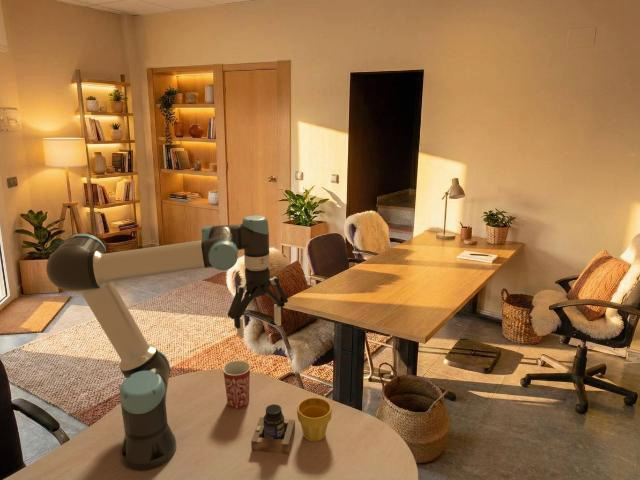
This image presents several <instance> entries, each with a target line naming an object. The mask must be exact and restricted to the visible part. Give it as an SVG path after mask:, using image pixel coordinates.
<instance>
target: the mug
mask: <svg viewBox="0 0 640 480" xmlns="http://www.w3.org/2000/svg"><path fill="white" fill-rule="evenodd" d="M251 369H252V368H251V364H250V363H249V362H248V361H245V360H232V361H229V362H227V363H225V364H224V365H223V367H222V372H223V380H224V386H225V393H226V394H225V395H226V403H227V405H228V406H229V408H232V409H235V410H239V409H243V408H245V407H247V406H248V405H249V403H250V377H251V371H250V370H251Z"/></svg>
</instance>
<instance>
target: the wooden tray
mask: <svg viewBox="0 0 640 480" xmlns="http://www.w3.org/2000/svg"><path fill="white" fill-rule="evenodd" d="M257 421H258V422H257V424H256V427H255V429H254V432H253V436H252V438H251V441H250V446H251V447H250V448H251V452H258V453H269V454H280V455H281V454H282V455H289V454H290V450H291V447H292V443H293V438H294V434H295V432H296V420H295V419H287V418H284V435H285V437H284V440H281V439H270V438H264V416H263V417H262V416H260V417H259V419H258V420H257Z"/></svg>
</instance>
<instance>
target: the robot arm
mask: <svg viewBox="0 0 640 480" xmlns="http://www.w3.org/2000/svg"><path fill="white" fill-rule="evenodd" d="M269 229H270V228H269V220H268V218H267V217H265V216H263V215H248V216H245V217H243V218H242V222H241V223H239V224H224V225H223V224H221V225H215V224H213V225H207V226H203V227H202V228H201V240H196V241H195V240H194V241H188V242H187V241H186V242H179V243H173V244H166V245H165V244H164V245H158V246H151V247H144V248H143V247H142V248H136V249H128V250H122V251H115V252H108V253H107V250H106V249H107V248H106V246H105V244H104V243H103V242H102V240H101V239H99V238H98V237H97V236H95V235H92V234H88V233H77V234H73V235H72V236H70V237H68V238H67V239H64V241H62V242H61V244H60V245H59V246H58V248H57V249H55V251H53V253H51V255H50V256H49V257H48V260H47V262H46V268H45V271H46V275H47V277H48V280H49V281H50V283H52V285H54V286H55V287H57V288H58V289H60V290H64V291H66V292H67V291H68V292H74V293H77V294H80V295H82V296H83V299H84V300H85V302H86V304H87V306H88V307H89V309H90V311H91V312H92V314H93V316H94V317H95V318H96V320H97V322H98V324H99V325H100V327H101V329H102V330H103V332H104V333H105V336H106V337H107V338H108V340H109V342H110V344H111V345H112V347H113V348H114V350H115V352H116V354H117V355H118V357H119V359H120V362H119V365H118V368H119V370H120V371H121V372H122V375H123V376H124V378H125V379H124V380H123V382H121V384H120V387H119V396H118V397H119V399H118V400H119V402H120V403H119V404H120V407H121V408H120V409H121V413H122V414H121V415H122V422H123V429H124V435H123V436H124V437H123V440H122V444H121V448H120V456H121V457H120V458H121V462H122V464H123V465H124V466H125V467H126V468H128V469H129V470H132V471H133V470H135V471H147V470H152V469H155V468H158V467H160V466H162V465H164V464H165V463H167V462H168V461H169V460H170V459H172V457H173V456H174V454H175V453H176V450H177V441H176V440H177V439H176V436H175V434H174V433H173V431H172V429H171V427H170V426H169V423H168V415H167V406H166V405H167V403H166V401H167V393H168V386H169V381H170V380H169V379H170V376H171V367H170V362H169V359H168V357H167V356H166V355H165V353H163V352H161V351H160V350H158V348H157V347H156V345H154V344H148V342H147V340H146V339H145V336H144V335H143V332H142V331H141V329H140V328H139V326H138V324H137V322H136V321H135V319H134V317H133V315H132V313H131V312H130V310H129V309H128V306H127V305H126V303H125V301H124V300H123V297H122V296H121V295H120V294H121V293H120V292H119V290H118V289H117V287H116V286H115V284H114V283H116V282H121V281H122V282H123V281H129V280H135V279H136V280H137V279H144V278H150V277H156V276H162V275H163V276H164V275H168V274H175V273H176V274H177V273H183V272H184V273H185V272H190V271H196V270H203V269H211V268H214V269H216V270H218V271H227V270H228V271H229V270H230V269H232V268H233V267H234V266H235V265H236V264H237V262H238V258H239V257H238V255H239V251H242V250H243V254H244V256H243V257H244V259H243V260H244V267H245V268H244V276H245V277H244V278H245V279H244V280H245V284H244V285H241V286H240V285H239V284H238V285H236V287H235V293H234V297H233V299H232V302H231V305H230V307H229V310H228V313H227V316H228V318H231V319H232V320H233V322H234V325H233V326H234V328H235V329H236V334H237V336H238V337H239V338H240V339H241V340H242V339H245V337H244V336H245V335H244V334H245V333H244V318H243V317H242V316H243V315H244V313H245V311H246V310H247V308H248V306H249V305H250V303H251V302H252V301H253V300H254V299H255V298H259V297H262V296H263V297H264V296H265V294H266V295H267V296H268V297H269V298H270V299H271V300H273V302H274V303H275V304H273V310H274V311H273V314H274V315H273V317H274V318H273V319H274V320H273V321H274V324H276V326H278V327H280V326H282V315H283V314H284V313H283V312H284V311H283V308H284V307H285V304H287V303H288V302H289V300H288V298H287V296H286V294H285V291H284V290H283V288H282V287H281V285H280V280H279V278H278V277H276V276H274V275H273V276H271V268H270V263H271V262H270V230H269ZM271 285H272V286H273V288H274V289H275V293H277V296H276V294H274V293H273V292H272V290H271V289H270V286H271Z"/></svg>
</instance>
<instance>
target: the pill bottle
mask: <svg viewBox="0 0 640 480" xmlns="http://www.w3.org/2000/svg"><path fill="white" fill-rule="evenodd" d="M263 417H264V438H270V439H281V440H284V437H285V432H284V419H285V416H284V414H283V412H282V407H281V405H279V404H269V405H268V406H267V407H265V414H264V415H263Z"/></svg>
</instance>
